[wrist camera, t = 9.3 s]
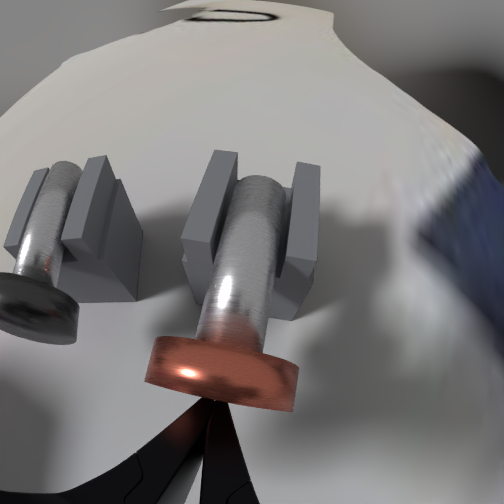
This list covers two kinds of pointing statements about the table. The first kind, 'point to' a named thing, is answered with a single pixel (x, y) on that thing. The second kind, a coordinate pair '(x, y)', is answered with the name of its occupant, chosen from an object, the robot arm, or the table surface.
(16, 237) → the grey u-shaped block
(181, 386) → the copper plunger
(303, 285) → the bed
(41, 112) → the table surface
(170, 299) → the table surface
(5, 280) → the black plunger
